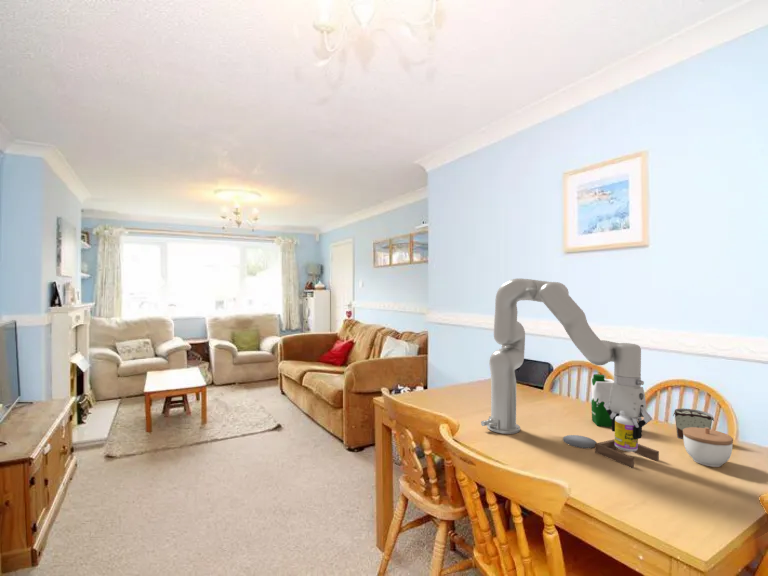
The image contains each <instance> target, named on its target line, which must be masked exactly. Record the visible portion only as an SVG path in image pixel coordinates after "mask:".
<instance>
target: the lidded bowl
mask: <svg viewBox="0 0 768 576" xmlns="http://www.w3.org/2000/svg"><path fill="white" fill-rule="evenodd" d="M682 440H683V446H684V449H685V451H686V453H687V454H688V455H689V457H690V458H692V461H694V462H695V463H697V464H699V465H702V466H706V467H713V468H720V467H722V466H723V464H725V463H727V462H728V461H729V460H730V459H731V456H732V453H733V443H734V438H733V437H732V436H730V435H729V434H727V433H724V432H721V431H718V430H716V429H712V428H711V429H710V428H707V427H705V428H698V427H689V428H684V429H683V439H682Z"/></svg>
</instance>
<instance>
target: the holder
mask: <svg viewBox="0 0 768 576" xmlns="http://www.w3.org/2000/svg"><path fill="white" fill-rule="evenodd" d="M618 450H619V449H618V448H617V447H615V438H613V439H609V440H605V441H600V442H597V443H595V448H594V453H595V454H597V455H600V456H602V457H605V458H607V459H610V460H612V461H614V462H616V463H619V464H621V465H623V466H626V467H628V468H630V467H631V468H630V469H632V468H633V469H634V467H635V457H633V456H631V455H629V454H625V453H623V452H621V451H618ZM633 453H635V454H637V455H639V456H641V457H645V458H647V459H650V460H653V461H655V462H658V461H660V459H659V458H660V455H659V454H660V451H658V450H657V449H654V448H651V447H649V446H645V445H643V444H640V443H638V449H637V451H634V452H633Z"/></svg>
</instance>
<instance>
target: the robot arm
mask: <svg viewBox="0 0 768 576" xmlns="http://www.w3.org/2000/svg"><path fill="white" fill-rule="evenodd" d="M569 294H570V293H569V289H568V288H567V286H566V285H565V284H563V283H561V282H556V281H547V280H539V279H532V278H531V279H530V278H513V279H510V280H507V281H506V282H504V283H503V284H501V286H499V288H498V290H497V291H496V294H495V306H494V307H495V309H494V310H495V311H494V320H493V321H494V323H493V339H494V341H495V342H496V343H497V344H498V345H500V346H501V348H499V349H497V350H495V351H494V352H493V353H492V354H491V356H490V358H489V371H490V379H491V380H490V390H491V391H490V393H491V394H490V395H491V396H490V398H491V399H490V400H491V401H490V403H491V404H490V416H488V419H487V420H481V421H480V425H481V426H482V427H487V429H488V430H490V431H491V432H493V433H497V434H501V435H502V434H503V435H504V434H505V435H514V434H517V433H519V432H521V426H520V425H519V424H517V378H516V370H517V369H519V368H520V367H521V366H522V365H523V363H524V360H525V350H526V349H525V346H526V331H525V328H524V326H523V325H522V323H521V322H520V321H518V306H517V304H518V302H519V301H532V302H540V303H543V304H544V306H545V307H546V308H547V309H548V311H550V312H551V314H552V315H553V316H554V317H555V318H556V319H557V321H559V322H558V323H560V324H561V326H562V327H563V328H564V331H565V332H566V333H567V335H568V337H569V339H570V340H571V341H572V343H573V344H574V345H575V347H576V348H577V350H579V352H580V353H581V355H583V356H584V357H585V358H586V360H587V361H588V362H590V364H593V365H595V366H605V365H607V364H608V363H610V362H611V363H612V362H614V367H613V368H614V369H613V370H614V371H613V374H614V375H613V381H614V382H613V383H612V387H611V392H610V401H608V402H607V403H605V404H604V407H605V408H606V410H607V412H608V414H609V415H610V418H611V419H612V427H611V431H612V432H614V433H615V418H616V416H618V415H619V414H620V411H624V413H625V415H626V416H628V417H631V418H632V419H633V422H634V424H635V427H633V439H638V440H640V439H642V436H643V427H644V426H645V425H647V424H648V423H649V422H650V421H652V420H653V417H652V416H651V415H650V414H649V412H648V411H647V401H646V394H645V390H644V387H643V385H644V384H645V381H644V380H642V378H641V376H642V375H641V372H642V368H641V367H642V366H641V365H642V348H641V346H640V345H639V344H635V343H631V342H614V341H610V340H603V339H600V338H599V336H598V335H597V334H596V333H595V332H594V331H593V328H591V326H590V325H589V323H588V319H587V316H586V313H585V312H584V310H583V309H582V308H581V307H580V306H579V305H578V304H577V302H576V301H575V300H574V299H573V298H572V297H571V296H570V295H569Z"/></svg>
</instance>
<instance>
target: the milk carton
mask: <svg viewBox="0 0 768 576" xmlns="http://www.w3.org/2000/svg"><path fill="white" fill-rule="evenodd" d="M590 380H591V384H590V385H591V421H592V422H593V424H594V425H596V426H597V427H603V428H604V427H605V428H612V419H611V418H610V415H609V414H608V412H607V410H606V408H605V407H604V404H605V403H607V402H608V401H610V392H611V387H612V383H613V382H614V379H611V378H605V375H603V374H596V373H595V374H593V377H591V379H590Z"/></svg>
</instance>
